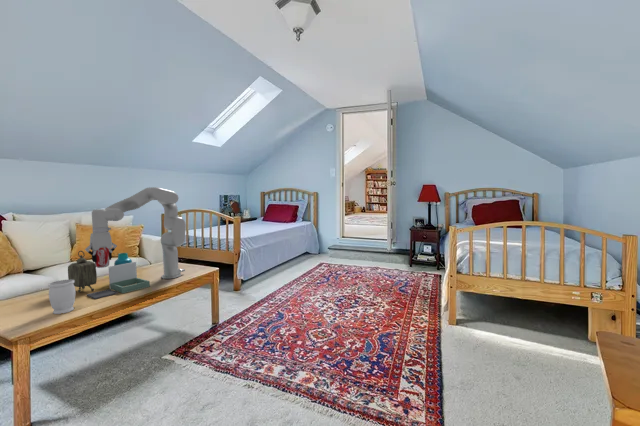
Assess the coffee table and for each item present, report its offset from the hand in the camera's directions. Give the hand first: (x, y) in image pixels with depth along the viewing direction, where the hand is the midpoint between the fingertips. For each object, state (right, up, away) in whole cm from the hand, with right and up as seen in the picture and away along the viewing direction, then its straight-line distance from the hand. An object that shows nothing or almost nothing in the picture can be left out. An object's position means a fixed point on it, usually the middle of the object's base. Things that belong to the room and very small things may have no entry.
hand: (102, 260), depth 185 cm
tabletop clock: (-17, -20, +8) cm, 28 cm away
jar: (-2, -22, -25) cm, 34 cm away
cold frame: (+8, -19, +13) cm, 25 cm away
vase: (-4, -19, +28) cm, 34 cm away
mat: (0, -20, +1) cm, 20 cm away
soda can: (0, -4, 0) cm, 4 cm away
